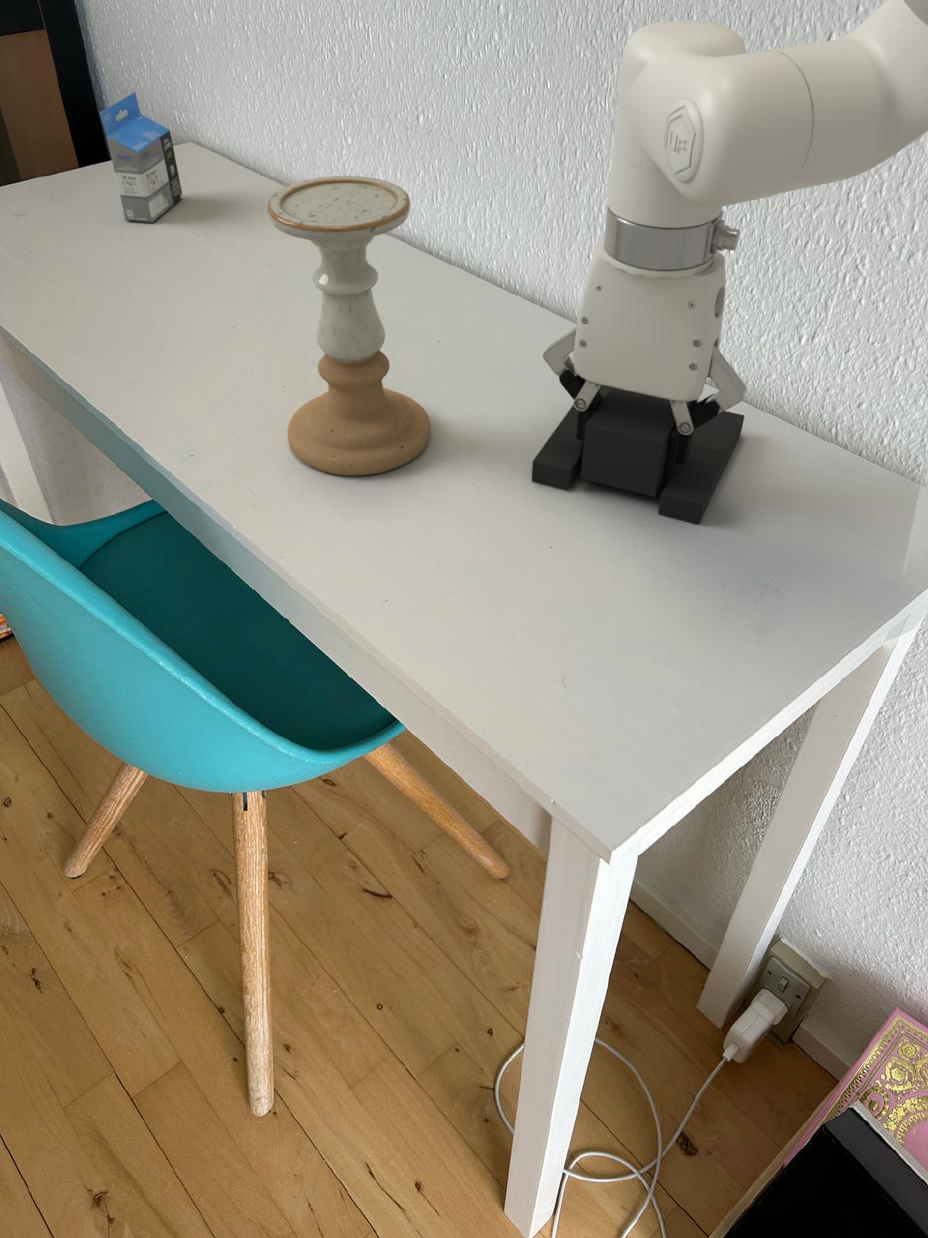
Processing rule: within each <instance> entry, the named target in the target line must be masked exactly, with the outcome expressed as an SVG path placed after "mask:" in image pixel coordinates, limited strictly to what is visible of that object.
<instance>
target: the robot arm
mask: <svg viewBox="0 0 928 1238" xmlns="http://www.w3.org/2000/svg"><path fill="white" fill-rule="evenodd" d="M621 55H622V56H621V61H620V71H619V80H618V90H617V100H616V101H617V102H616V112H615V121H614V122H615V123H614V134H613V143H612V154H611V164H610V165H611V166H610V176H609V189H608V199H607V206H606V207H607V208H606V217H605V227H604V237H603V238H601V239H600V240H599V242H598V243H597V245H596V246H595V248H594V252H593V255H592V257H591V260H590V264H589V267H588V271H587V275H586V280H585V284H584V288H583V293H582V298H581V302H580V307H579V313H578V317H577V324H576V326H575V327H574V328H572V329H571V330H569V331H568V332H567V333H565V334H564V335H562V336H561V337H560V338H559V339H557V340H555V341H553V343H551V344H549V346H548V347H547V348H546V349H545V351H544V352H543V353H542V357H543V360H544V361H545V363H546V364H547V365H548V367H549V368H550V370H551V371H552V372H553V373H554V374H555V375H556V376H557V377H558V381H559V383H560V385H561V386H562V387H563V388H564V389H565V391H566V392H567V394H568V395H569V396H570V398H572V399H573V404H574V407H575V408H576V409H577V410H578V411H579V412H578V423H577V435H576V438H577V439H579V440H581V451H580V455H582V456H583V449H584V438H585V427H586V424H587V422H588V421H589V419H590V418H591V417H592V415H593V414H594V412H595V411H596V409H597V408H598V406H599V405H600V403H601V402H602V400H603V396H601V394H600V393H599V391H600V389H601V388H602V386H603V385H605V386H609V387H614V388H618V389H623V390H627V391H632V392H636V393H641V394H646V395H650V396H655V397H659V398H664V399H669V401H670V404H671V408H672V412H673V415H674V419H675V426H674V427H673V429H672V431H671V433H670V436H669V441H668V447H667V454H666V460H665V466H664V472H663V474H665V476H666V477H667V478H670V477H672V476H673V474H674V472H675V470H676V468H677V466H678V464H679V463H680V464H684V465H685V464H686V462H687V460H688V457H689V453H690V448H691V443H692V437H693V432H694V429H696V428H697V427H699V426H701V425H703V424H704V423H706V422H708V421H710V420H712V419H713V418H715V417H716V416H717V415H718V414H719V413H721V412H723V411H727V410H729V409H731V408H732V407H734V406H736V405H738V404H740V403H741V402H742V401H743V400H744V397H745V395H746V394H747V386H746V384H745V383H744V382H743V380H742V379H741V378H740V376H739V375H738V374H737V372H736V371H735V370H734V368H733V367H732V366H731V364H730V363H729V362H728V361H727V359H726V358H725V356H724V355H723V354H722V352H721V351H720V347H721V346H720V345H721V337H722V329H723V321H724V313H725V312H724V311H725V297H726V257H725V256H724V255H723V253H721V252H724V250H728V251H733V252H735V251H736V250H737V247H738V244H739V240H740V234H741V230H740V229H739V228H738V229H737V228H731V227H730V225H727V224H725V219H723V218H724V210H722V209H723V207H727V206H733V205H738V204H742V203H748V202H752V201H758V200H762V199H766V198H771V197H774V196H777V195H779V194H785V193H788V192H789V193H790V192H793V191H798V190H803V189H808V188H813V187H818V186H822V185H829V184H832V183H837V182H841V181H845V180H848V179H852V178H854V177H857V176H860V175H862V174H864V173H866V172H868V171H870V170H872V169H874V168H876V167H877V166H879V165H881V164H883V163H884V162H886V161H887V160H889V159H891V158H892V157H894V156H895V155H897V154H898V153H899V152H902V151H903V150H904V149H905V148H906V147H908V146H909V145H911V144H912V143H913V142H914V141H916V140H918V139H919V138H920V137H922V136H923V135H924V134H926V133H927V132H928V0H885V2H883V3H882V5H880V6H879V7H878V8H877V9H876V10H875V11H874V12H873V13H871V15H869V16H868V17H867V18H866V19H865V20H864V21H862V23H860V24H859V25H858V26H857V27H855V28H854V29H853V30H851V31H850V32H849V33H847V34H846V35H844V36H843V37H841V38H839V39H833V40H827V41H825V40H824V41H818V42H809V43H803V44H795V45H790V46H783V47H776V48H775V47H774V48H770V49H765V50H762V51H757V52H756V51H754V52H747V48H746V44H745V42H744V39H743V38H742V37H741V36H740V34H738V32H737V31H735V30H734V29H732V28H729V27H727V26H724V25H721V24H718V23H714V22H708V21H700V20H699V21H698V20H688V19H687V20H684V19H683V20H682V19H681V20H680V19H679V20H677V19H676V20H663V21H657V22H653V23H649V24H647V25H643V26H641V27H639V28H638V29H637V30H636V31H634V32H633V33H632V34H630V36H629V38H628V39H627V41H626V43H625V45H624V48H623V52H622V54H621ZM720 251H721V252H720ZM571 353H573V359H572V358H571V356H570V354H571ZM708 379H710V380H711V381H712V383H714V385H715V386H716V387H717V389H718V391H717V392H716V393H713V394H710V395H708V396H707V397H705V398H703V399H702V400H700V397H701V396H702V393H703V391H704V388H705V385H706V383H707V381H708Z"/></svg>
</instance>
